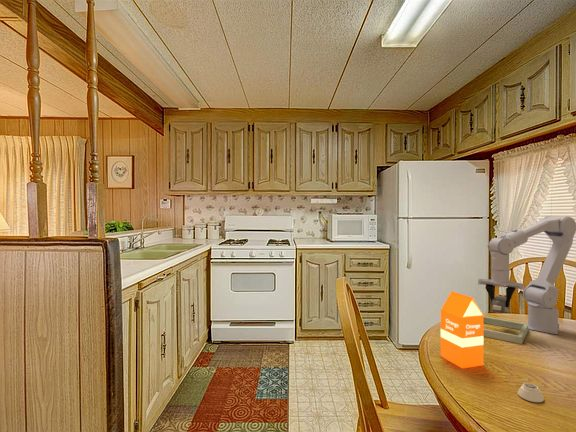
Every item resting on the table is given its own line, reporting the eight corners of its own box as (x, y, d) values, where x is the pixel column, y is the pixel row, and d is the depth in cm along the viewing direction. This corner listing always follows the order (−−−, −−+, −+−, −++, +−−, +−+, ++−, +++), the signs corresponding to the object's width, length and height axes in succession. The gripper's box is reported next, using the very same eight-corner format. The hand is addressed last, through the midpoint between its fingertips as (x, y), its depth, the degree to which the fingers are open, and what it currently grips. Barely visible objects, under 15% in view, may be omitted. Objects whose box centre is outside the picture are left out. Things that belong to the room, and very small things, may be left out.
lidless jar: (549, 403, 78) (532, 392, 83) (549, 391, 78) (532, 380, 83) (528, 404, 78) (513, 392, 83) (528, 391, 78) (513, 380, 83)
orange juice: (462, 368, 95) (462, 298, 95) (440, 355, 104) (440, 291, 104) (484, 365, 97) (484, 296, 97) (460, 353, 106) (461, 290, 106)
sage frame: (528, 330, 126) (528, 324, 126) (521, 344, 113) (521, 337, 113) (475, 320, 138) (475, 314, 138) (463, 332, 125) (463, 325, 125)
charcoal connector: (508, 307, 129) (508, 297, 129) (503, 314, 120) (503, 303, 120) (496, 305, 132) (496, 295, 132) (490, 312, 122) (490, 301, 122)
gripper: (476, 269, 128) (476, 304, 128) (522, 273, 119) (522, 311, 119) (480, 266, 134) (480, 300, 134) (524, 270, 124) (524, 307, 124)
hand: (500, 305), depth 126 cm, fingers closed on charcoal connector, 4 cm apart
